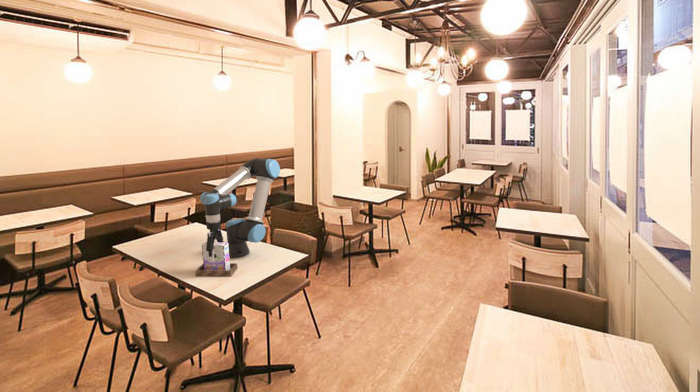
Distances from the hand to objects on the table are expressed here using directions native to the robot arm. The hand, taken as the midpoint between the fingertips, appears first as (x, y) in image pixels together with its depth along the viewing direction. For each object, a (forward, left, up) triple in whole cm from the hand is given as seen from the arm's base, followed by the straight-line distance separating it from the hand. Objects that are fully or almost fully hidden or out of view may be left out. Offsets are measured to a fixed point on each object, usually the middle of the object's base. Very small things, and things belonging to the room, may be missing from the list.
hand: (216, 257), depth 225 cm
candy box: (0, 0, -8) cm, 8 cm away
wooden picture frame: (0, 0, -9) cm, 9 cm away
